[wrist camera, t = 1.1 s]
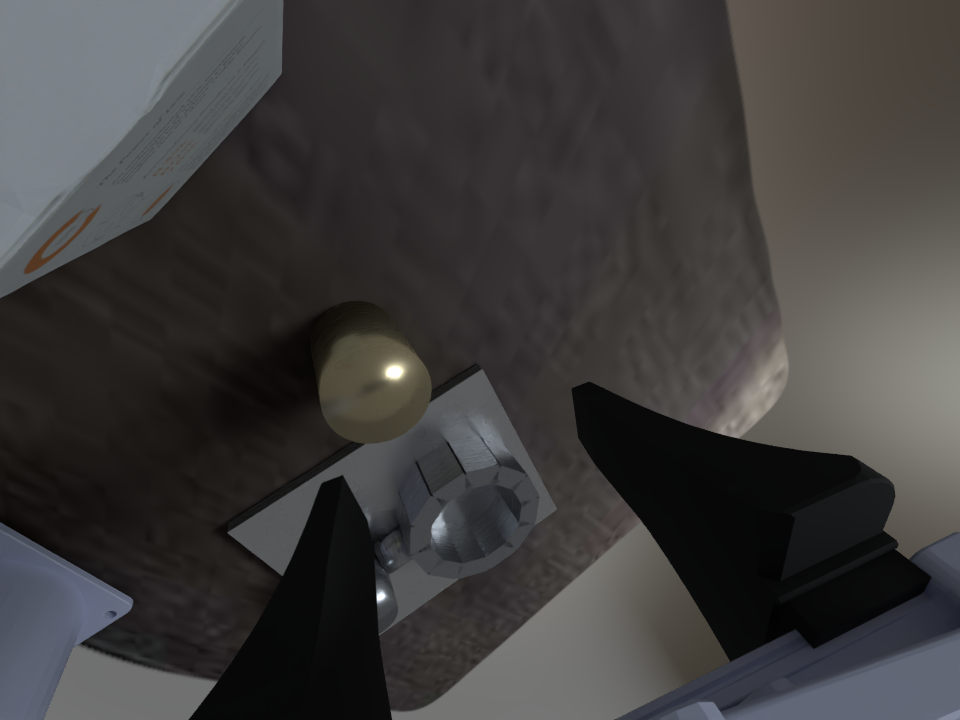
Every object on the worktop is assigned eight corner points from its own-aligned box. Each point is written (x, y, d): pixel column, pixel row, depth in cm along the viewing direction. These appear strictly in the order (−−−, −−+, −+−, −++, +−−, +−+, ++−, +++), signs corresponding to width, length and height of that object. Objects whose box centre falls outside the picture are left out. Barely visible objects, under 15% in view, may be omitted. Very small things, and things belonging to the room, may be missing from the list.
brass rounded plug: (342, 396, 24) (360, 462, 19) (291, 331, 21) (296, 386, 16) (413, 352, 24) (448, 404, 19) (370, 284, 22) (398, 324, 17)
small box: (113, -112, 14) (-456, -1025, 3) (286, 73, 18) (302, -54, 7) (-56, 80, 14) (-1134, -147, 3) (148, 225, 18) (-56, 345, 7)
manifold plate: (366, 632, 32) (379, 703, 28) (228, 522, 24) (219, 596, 20) (551, 502, 34) (588, 549, 30) (477, 363, 26) (513, 401, 22)
